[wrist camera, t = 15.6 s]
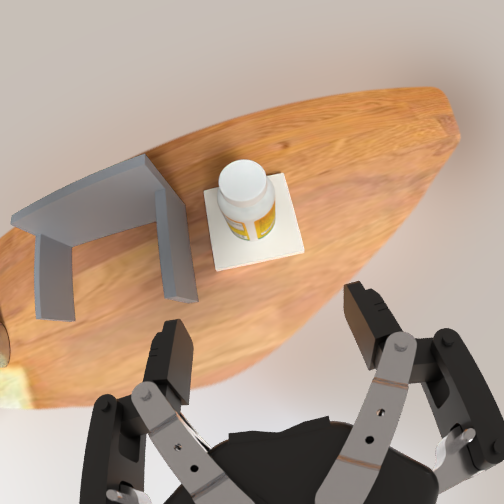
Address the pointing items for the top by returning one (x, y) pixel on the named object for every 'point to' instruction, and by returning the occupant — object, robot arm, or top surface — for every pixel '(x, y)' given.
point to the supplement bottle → (247, 200)
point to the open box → (106, 230)
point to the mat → (271, 247)
